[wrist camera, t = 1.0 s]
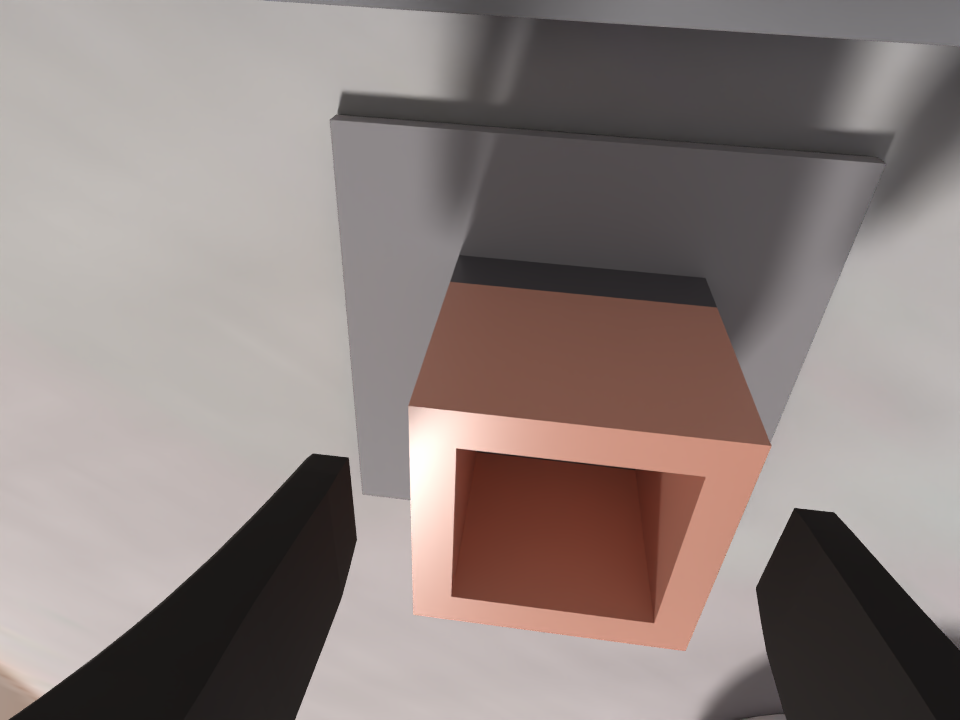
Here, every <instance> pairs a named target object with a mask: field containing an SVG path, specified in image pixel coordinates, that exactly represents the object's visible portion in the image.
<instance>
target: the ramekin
mask: <svg viewBox="0 0 960 720" xmlns="http://www.w3.org/2000/svg"><path fill="white" fill-rule="evenodd" d="M742 720H786V717H785V714H774V715H765V716H758V717H752V718H746V719H742Z"/></svg>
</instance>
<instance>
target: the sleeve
mask: <svg viewBox="0 0 960 720" xmlns="http://www.w3.org/2000/svg"><path fill="white" fill-rule="evenodd" d="M408 416H409V457H410V498H411V539H412V579H413V615H420V616H427V617H435V618H442V619H450V620H457V621H465V622H472V623H480V624H487V625H495V626H502V627H509V628H517V629H524V630H532V631H539V632H547V633H554V634H562V635H569V636H577V637H584V638H592V639H599V640H607V641H614V642H622V643H629V644H636V645H644V646H651V647H659V648H666V649H674V650H681V651H686V649H687V646H688V644H689V641H690V639H691V637H692V634H693V632H694V630H695V627H696V625H697V622H698V620H699V618H700V615H701V613H702V610H703V608H704V606H705V603H706V601H707V598H708V596H709V594H710V591H711V589H712V587H713V584H714V582H715V579H716V577H717V575H718V572H719V570H720V567H721V565H722V563H723V560H724V558H725V556H726V553H727V551H728V548H729V546H730V544H731V541H732V539H733V536H734V534H735V532H736V529H737V527H738V525H739V522H740V520H741V517H742V515H743V513H744V510H745V508H746V505H747V503H748V501H749V498H750V496H751V494H752V491H753V489H754V486H755V484H756V482H757V479H758V477H759V474H760V472H761V470H762V467H763V465H764V463H765V460H766V458H767V455H768V453H769V451H770V448H771V444H770V441H769V439H768V436H767V433H766V431H765V428H764V426H763V423H762V421H761V418H760V416H759V413H758V411H757V408H756V405H755V403H754V400H753V398H752V395H751V393H750V390H749V388H748V385H747V383H746V380H745V377H744V375H743V372H742V370H741V367H740V365H739V362H738V360H737V357H736V354H735V352H734V349H733V347H732V344H731V342H730V339H729V337H728V334H727V332H726V329H725V326H724V324H723V321H722V319H721V316H720V314H719V311H718V309H717V306H716V303H715V301H714V298H713V296H712V293H711V291H710V288H709V286H708V283H707V281H706V278H700V277H689V276H679V275H668V274H657V273H646V272H636V271H625V270H614V269H603V268H593V267H582V266H571V265H561V264H550V263H539V262H528V261H518V260H507V259H496V258H485V257H475V256H464V255H459V257H458V260H457V263H456V265H455V268H454V271H453V274H452V277H451V280H450V283H449V286H448V289H447V292H446V295H445V298H444V301H443V304H442V307H441V310H440V313H439V316H438V319H437V322H436V325H435V328H434V331H433V334H432V337H431V340H430V343H429V346H428V349H427V352H426V355H425V358H424V361H423V364H422V367H421V369H420V372H419V375H418V378H417V381H416V384H415V387H414V390H413V393H412V396H411V399H410V402H409V405H408Z"/></svg>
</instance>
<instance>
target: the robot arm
mask: <svg viewBox="0 0 960 720" xmlns="http://www.w3.org/2000/svg"><path fill="white" fill-rule="evenodd" d="M356 541H357V536H356V526H355V516H354V506H353V496H352V486H351V476H350V466H349V458H347V457H338V456H329V455H321V454H312V455H310V456H309V457H308V458H307V459H306V460H305V461H304V462H303V463H302V464H301V465H300V466H299V467H298V468H297V470H296V471H295V472H294V473H293V474H292V475H291V476H290V477H289V478H288V479H287V480H286V482H285V483H284V484H283V485H282V486H281V487H280V488H279V489H278V490H277V491H276V492H275V493H274V494H273V496H272V497H271V498H270V499H269V500H268V501H267V502H266V503H265V504H264V505H263V506H262V507H261V508H260V509H259V510H258V511H257V512H256V513H255V514H254V515H253V516H252V517H251V518H250V519H249V520H248V521H247V522H246V523H245V524H244V525H243V526H242V527H241V528H240V529H239V530H238V531H237V532H236V533H235V534H234V535H233V536H232V537H231V538H230V539H229V540H228V541H227V542H226V543H225V544H224V545H223V546H222V547H221V548H220V549H219V550H218V551H217V552H216V553H215V554H214V555H213V556H212V557H211V558H210V559H209V560H208V561H207V562H206V563H205V564H203V565H202V566H201V567H200V568H199V569H198V570H197V571H196V572H195V573H194V574H192V575H191V576H190V577H189V578H188V579H187V580H186V581H185V582H184V583H183V584H181V585H180V586H179V587H178V588H177V589H176V590H175V591H174V592H173V593H172V594H170V595H169V596H168V597H167V598H166V599H165V600H164V601H163V602H161V603H160V604H159V605H158V606H157V607H156V608H154V609H153V610H152V611H151V612H150V613H149V614H147V615H146V616H145V617H144V618H143V619H142V620H140V621H139V622H138V623H137V624H135V625H134V626H133V627H132V628H131V629H129V630H128V631H127V632H126V633H124V634H123V635H122V636H121V637H119V638H118V639H117V640H116V641H114V642H113V643H112V644H111V645H109V646H108V647H107V648H106V649H104V650H103V651H102V652H101V653H99V654H98V655H97V656H95V657H94V658H93V659H92V660H90V661H89V662H88V663H86V664H85V665H84V666H82V667H81V668H79V669H78V670H77V671H75V672H74V673H73V674H71V675H70V676H69V677H67V678H66V679H65V680H63V681H62V682H61V683H59V684H58V685H57V686H55V687H54V688H52V689H51V690H50V691H48V692H47V693H46V694H44V695H43V696H42V697H40V698H39V699H37V700H36V701H35V702H33V703H32V704H30V705H29V706H28V707H26V708H25V709H23V710H22V711H21V712H19V713H18V714H16V715H15V716H13V717H12V718H10V719H9V720H295V718H296V716H297V713H298V710H299V708H300V705H301V703H302V700H303V697H304V695H305V692H306V690H307V687H308V684H309V682H310V679H311V677H312V674H313V672H314V669H315V666H316V664H317V661H318V659H319V656H320V653H321V651H322V648H323V646H324V643H325V640H326V638H327V635H328V633H329V630H330V627H331V625H332V622H333V619H334V617H335V614H336V612H337V609H338V606H339V603H340V601H341V598H342V595H343V591H344V587H345V584H346V580H347V576H348V572H349V569H350V565H351V561H352V557H353V553H354V549H355V545H356ZM756 592H757V598H758V605H759V612H760V618H761V624H762V630H763V635H764V641H765V646H766V652H767V655H768V659H769V662H770V666H771V670H772V673H773V676H774V680H775V683H776V687H777V690H778V693H779V697H780V700H781V704H782V707H783V710H784V714H785V717H786V720H960V650H959V649H958V648H957V647H956V646H955V645H954V644H953V643H952V642H951V641H950V640H949V639H948V637H947V636H946V635H945V634H944V633H943V632H942V631H941V630H940V629H939V628H938V627H937V626H936V625H935V623H934V622H933V621H932V620H931V619H930V618H929V617H928V616H927V615H926V614H925V613H924V612H923V610H922V609H921V608H920V607H919V606H918V605H917V604H916V603H915V602H914V601H913V599H912V598H911V597H910V596H909V595H908V594H907V593H906V592H905V591H904V589H903V588H902V587H901V586H900V585H899V584H898V583H897V582H896V581H895V579H894V578H893V577H892V576H891V575H890V574H889V573H888V572H887V570H886V569H885V568H884V567H883V566H882V565H881V564H880V563H879V561H878V560H877V559H876V558H875V557H874V556H873V555H872V554H871V552H870V551H869V550H868V549H867V548H866V547H865V546H864V545H863V543H862V542H861V541H860V540H859V539H858V538H857V537H856V536H855V535H854V533H853V532H852V531H851V530H850V529H849V528H848V527H847V526H846V525H845V524H844V522H843V521H842V520H841V519H840V518H839V517H838V516H837V515H836V514H835V513H834V512H825V511H816V510H807V509H799V508H794V510H793V512H792V514H791V516H790V518H789V520H788V522H787V525H786V527H785V529H784V531H783V533H782V535H781V537H780V539H779V541H778V543H777V545H776V547H775V549H774V551H773V554H772V556H771V558H770V560H769V562H768V564H767V566H766V568H765V570H764V572H763V574H762V576H761V578H760V580H759V583H758V585H757V587H756Z"/></svg>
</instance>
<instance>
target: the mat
mask: <svg viewBox="0 0 960 720" xmlns="http://www.w3.org/2000/svg"><path fill="white" fill-rule="evenodd" d="M330 128H331V139H332V151H333V162H334V174H335V185H336V196H337V208H338V219H339V231H340V242H341V254H342V265H343V277H344V288H345V300H346V311H347V323H348V334H349V346H350V357H351V369H352V380H353V392H354V403H355V415H356V426H357V438H358V449H359V461H360V472H361V484H362V494H363V495H371V496H379V497H388V498H396V499H404V500H411V498H410V457H409V416H408V405H409V402H410V399H411V396H412V393H413V390H414V387H415V384H416V381H417V378H418V375H419V372H420V369H421V367H422V364H423V361H424V358H425V355H426V352H427V349H428V346H429V343H430V340H431V337H432V334H433V331H434V328H435V325H436V322H437V319H438V316H439V313H440V310H441V307H442V304H443V301H444V298H445V295H446V292H447V289H448V286H449V283H450V280H451V277H452V274H453V271H454V268H455V265H456V263H457V260H458V257H459V255H464V256H475V257H485V258H496V259H507V260H518V261H528V262H539V263H550V264H561V265H571V266H582V267H593V268H603V269H614V270H625V271H636V272H646V273H657V274H668V275H679V276H689V277H700V278H706V281H707V283H708V286H709V288H710V291H711V293H712V296H713V298H714V301H715V303H716V306H717V309H718V311H719V314H720V316H721V319H722V321H723V324H724V326H725V329H726V332H727V334H728V337H729V339H730V342H731V344H732V347H733V349H734V352H735V354H736V357H737V360H738V362H739V365H740V367H741V370H742V372H743V375H744V377H745V380H746V383H747V385H748V388H749V390H750V393H751V395H752V398H753V400H754V403H755V405H756V408H757V411H758V413H759V416H760V418H761V421H762V423H763V426H764V428H765V431H766V433H767V436H768V439H769V441H770V442H771V440H772V437H773V435H774V433H775V430H776V428H777V425H778V423H779V421H780V418H781V416H782V413H783V411H784V409H785V406H786V404H787V401H788V399H789V397H790V394H791V392H792V389H793V387H794V385H795V382H796V380H797V377H798V375H799V373H800V370H801V368H802V365H803V363H804V361H805V358H806V356H807V353H808V351H809V349H810V346H811V344H812V341H813V339H814V337H815V334H816V332H817V329H818V327H819V325H820V322H821V320H822V317H823V315H824V313H825V310H826V308H827V305H828V303H829V301H830V298H831V296H832V293H833V291H834V288H835V286H836V284H837V281H838V279H839V276H840V274H841V272H842V269H843V267H844V264H845V262H846V260H847V257H848V255H849V252H850V250H851V248H852V245H853V243H854V240H855V238H856V236H857V233H858V231H859V228H860V226H861V224H862V221H863V219H864V216H865V214H866V212H867V209H868V207H869V204H870V202H871V200H872V197H873V195H874V192H875V190H876V188H877V185H878V183H879V180H880V178H881V176H882V173H883V171H884V168H885V166H886V163H884V162H883V161H882V160H880V159H879V158H878V157H869V156H856V155H844V154H831V153H818V152H806V151H793V150H780V149H767V148H755V147H742V146H729V145H717V144H704V143H691V142H678V141H666V140H653V139H640V138H628V137H615V136H602V135H589V134H577V133H564V132H551V131H539V130H526V129H513V128H500V127H488V126H475V125H462V124H450V123H437V122H424V121H411V120H399V119H386V118H373V117H361V116H348V115H335V116H334V117H333V118H331V119H330Z"/></svg>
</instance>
